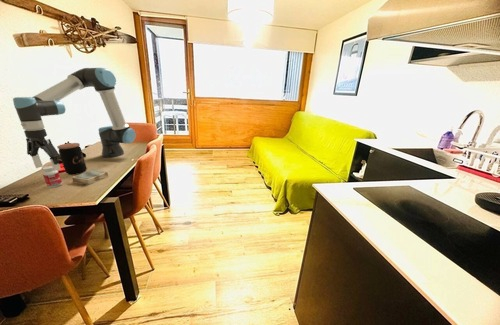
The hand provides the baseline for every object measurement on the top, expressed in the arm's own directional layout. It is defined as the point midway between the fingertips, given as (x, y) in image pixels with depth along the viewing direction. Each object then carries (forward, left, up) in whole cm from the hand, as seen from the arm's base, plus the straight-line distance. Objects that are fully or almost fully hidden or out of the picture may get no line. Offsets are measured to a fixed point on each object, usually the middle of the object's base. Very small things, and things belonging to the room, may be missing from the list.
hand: (48, 168), depth 108 cm
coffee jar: (-18, -9, -11) cm, 23 cm away
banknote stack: (-12, +11, -10) cm, 20 cm away
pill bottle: (0, 0, -11) cm, 11 cm away
